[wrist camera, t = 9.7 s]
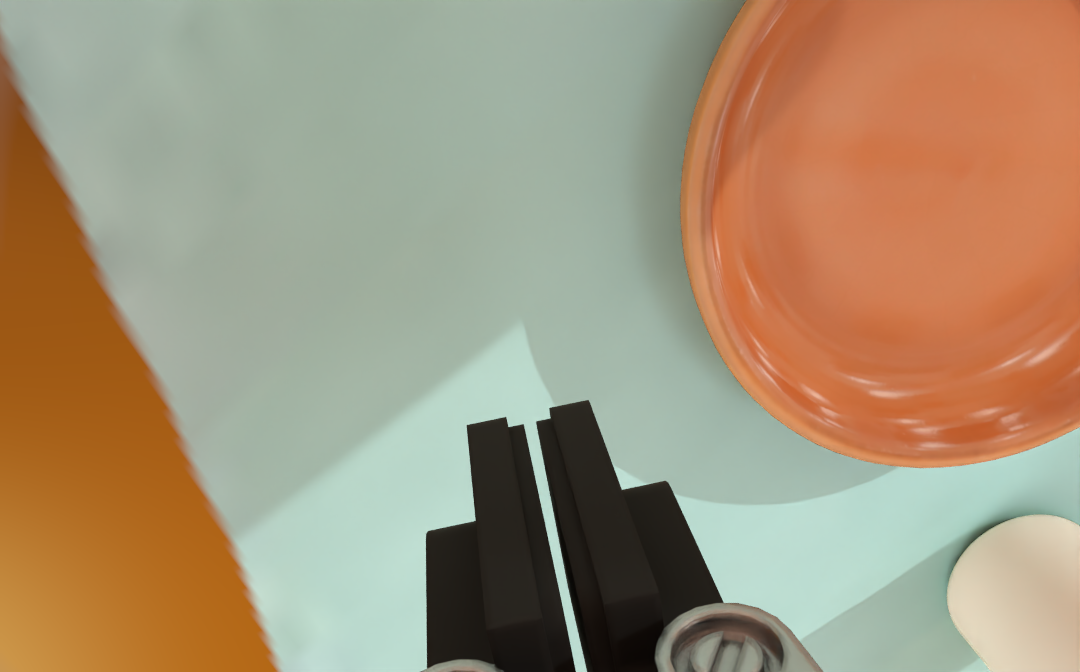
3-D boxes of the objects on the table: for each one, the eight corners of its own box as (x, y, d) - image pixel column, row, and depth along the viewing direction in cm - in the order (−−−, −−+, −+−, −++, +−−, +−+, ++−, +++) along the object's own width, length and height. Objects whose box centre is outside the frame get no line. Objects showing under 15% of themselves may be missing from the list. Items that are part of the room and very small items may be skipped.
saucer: (1271, -196, 22) (1392, -218, 20) (1159, 381, 29) (1239, 426, 26) (640, -136, 21) (675, -150, 18) (667, 458, 27) (696, 513, 25)
